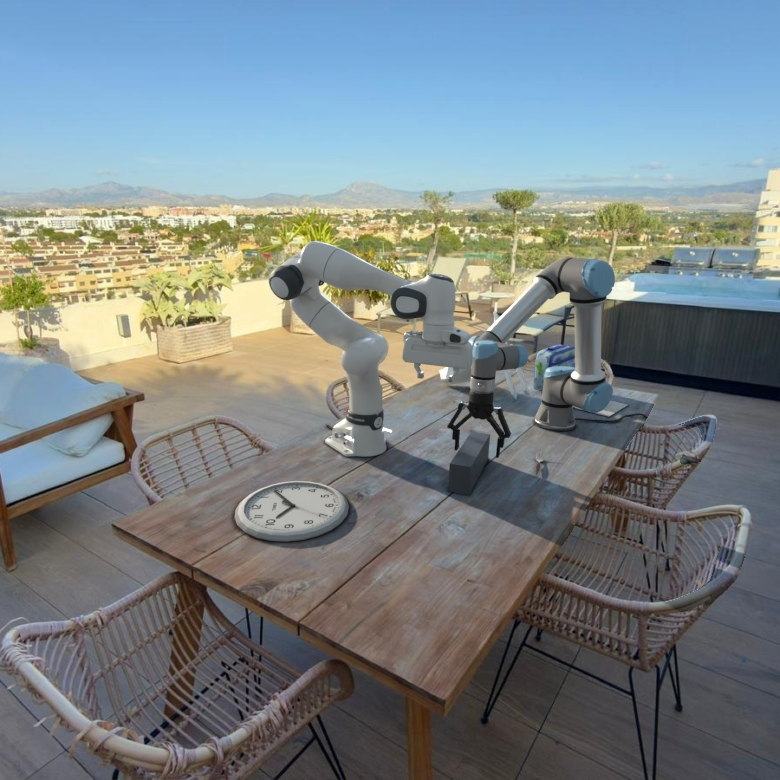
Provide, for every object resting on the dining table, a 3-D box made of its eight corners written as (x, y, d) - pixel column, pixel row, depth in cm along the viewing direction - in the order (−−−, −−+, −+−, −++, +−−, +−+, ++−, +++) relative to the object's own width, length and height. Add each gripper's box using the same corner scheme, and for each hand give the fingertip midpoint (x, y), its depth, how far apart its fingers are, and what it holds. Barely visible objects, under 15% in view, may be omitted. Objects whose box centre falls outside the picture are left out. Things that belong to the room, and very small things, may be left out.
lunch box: (550, 397, 237) (555, 352, 231) (529, 391, 245) (533, 348, 238) (577, 386, 255) (582, 344, 249) (556, 381, 262) (561, 340, 256)
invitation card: (608, 416, 214) (573, 407, 224) (608, 416, 214) (573, 408, 224) (628, 404, 229) (594, 396, 238) (628, 405, 229) (594, 397, 238)
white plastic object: (461, 429, 252) (437, 405, 227) (444, 352, 274) (420, 323, 250) (535, 404, 240) (518, 377, 215) (510, 326, 262) (492, 293, 237)
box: (469, 455, 175) (471, 431, 173) (488, 459, 173) (490, 434, 171) (448, 491, 152) (449, 463, 149) (469, 495, 149) (471, 467, 147)
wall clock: (349, 533, 127) (222, 537, 124) (349, 539, 127) (223, 543, 125) (348, 477, 155) (245, 479, 153) (348, 481, 156) (245, 484, 153)
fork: (531, 475, 162) (532, 469, 161) (536, 455, 176) (537, 450, 175) (540, 476, 161) (541, 471, 160) (544, 456, 175) (545, 451, 175)
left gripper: (399, 331, 149) (398, 378, 153) (470, 338, 141) (467, 387, 145) (407, 328, 154) (406, 373, 158) (475, 334, 147) (472, 381, 151)
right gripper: (440, 388, 165) (436, 450, 171) (520, 399, 156) (513, 464, 162) (446, 382, 172) (443, 442, 178) (524, 392, 163) (517, 455, 169)
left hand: (435, 380), depth 152 cm, fingers open, 8 cm apart
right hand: (476, 452), depth 170 cm, fingers open, 13 cm apart
